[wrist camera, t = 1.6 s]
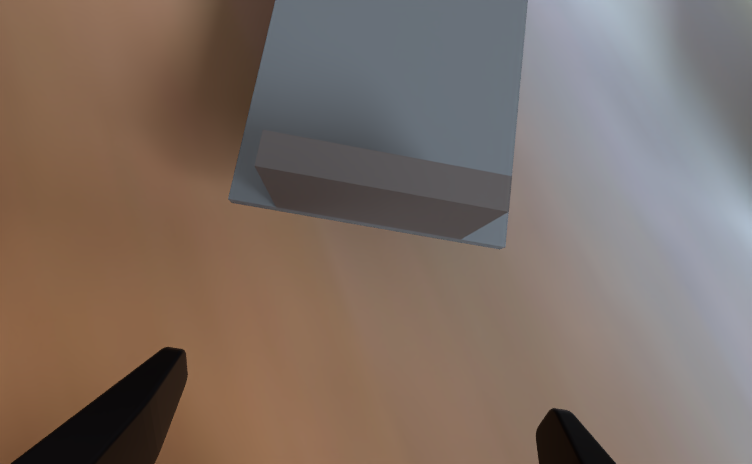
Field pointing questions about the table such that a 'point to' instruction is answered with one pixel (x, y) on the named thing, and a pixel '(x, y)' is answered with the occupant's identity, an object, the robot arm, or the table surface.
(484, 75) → the lid
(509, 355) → the table surface
